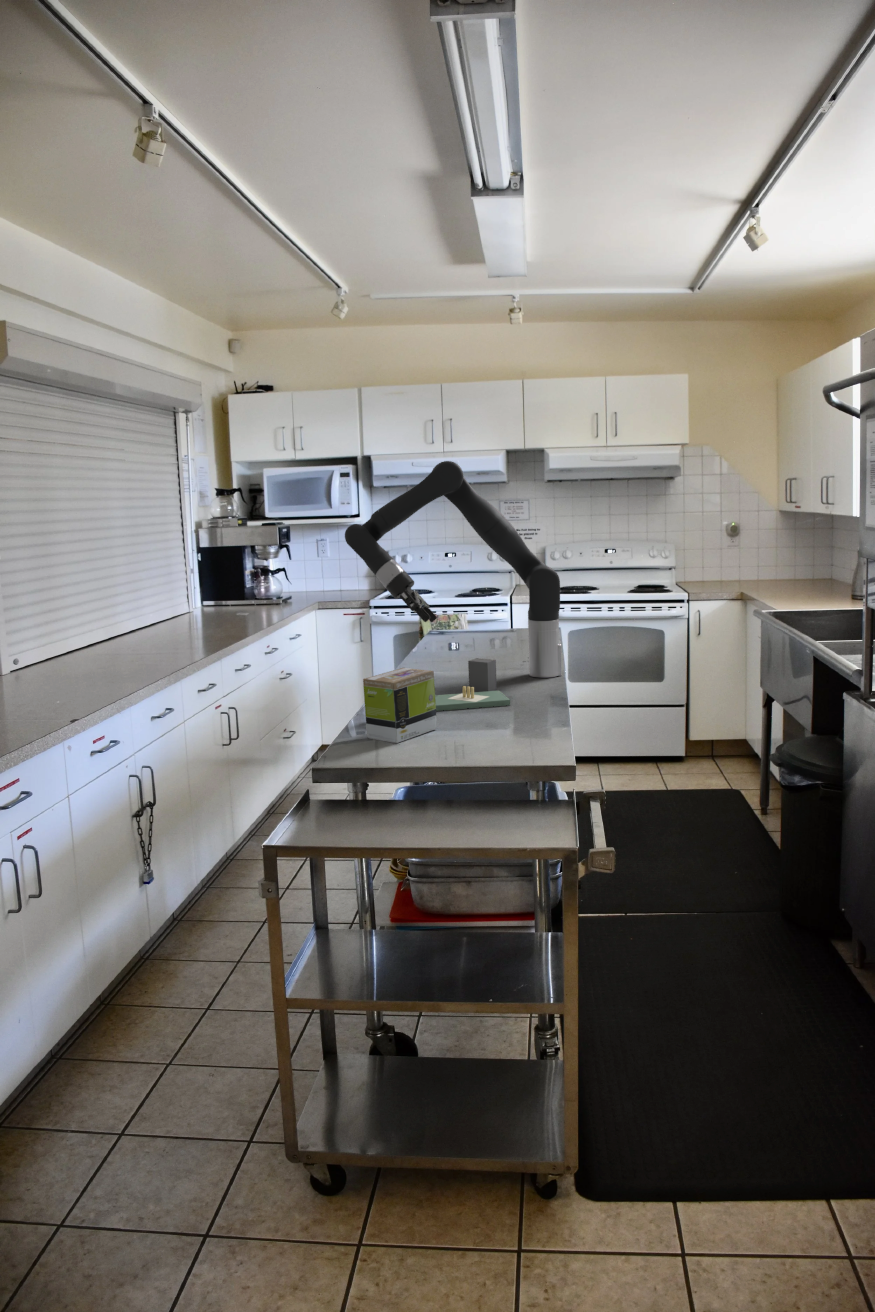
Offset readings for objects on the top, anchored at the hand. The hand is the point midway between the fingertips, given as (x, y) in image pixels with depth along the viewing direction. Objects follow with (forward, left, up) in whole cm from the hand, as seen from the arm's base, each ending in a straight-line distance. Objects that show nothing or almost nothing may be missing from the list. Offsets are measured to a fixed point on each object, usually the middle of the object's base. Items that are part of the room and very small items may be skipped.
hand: (431, 620), depth 272 cm
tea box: (+17, +50, -20) cm, 56 cm away
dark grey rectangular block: (-12, +11, -20) cm, 26 cm away
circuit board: (-5, +24, -20) cm, 31 cm away
